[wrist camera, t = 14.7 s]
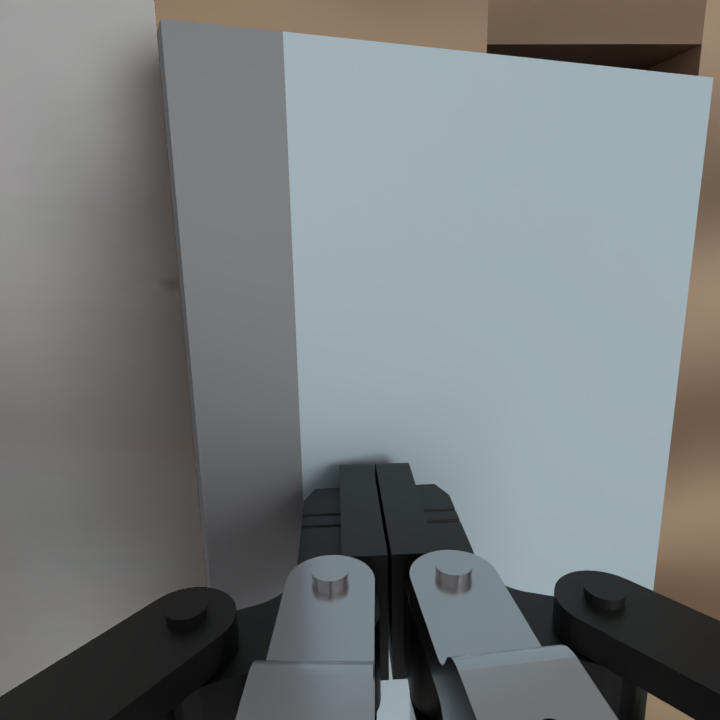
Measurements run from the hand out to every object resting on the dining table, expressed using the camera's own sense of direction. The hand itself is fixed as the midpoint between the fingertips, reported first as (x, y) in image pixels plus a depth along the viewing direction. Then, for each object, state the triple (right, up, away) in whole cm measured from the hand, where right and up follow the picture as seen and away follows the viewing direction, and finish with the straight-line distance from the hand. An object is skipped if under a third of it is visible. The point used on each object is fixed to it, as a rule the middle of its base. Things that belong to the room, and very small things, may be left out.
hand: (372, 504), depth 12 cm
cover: (+2, +1, +2) cm, 3 cm away
